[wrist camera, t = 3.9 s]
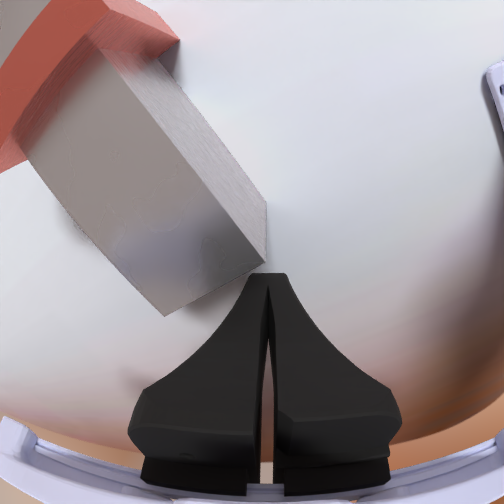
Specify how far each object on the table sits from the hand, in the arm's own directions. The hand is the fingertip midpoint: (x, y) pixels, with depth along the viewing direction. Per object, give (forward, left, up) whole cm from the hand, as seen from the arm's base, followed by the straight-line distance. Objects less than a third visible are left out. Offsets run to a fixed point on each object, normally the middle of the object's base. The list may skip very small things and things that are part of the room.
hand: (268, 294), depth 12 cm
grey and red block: (+11, 0, -1) cm, 11 cm away
